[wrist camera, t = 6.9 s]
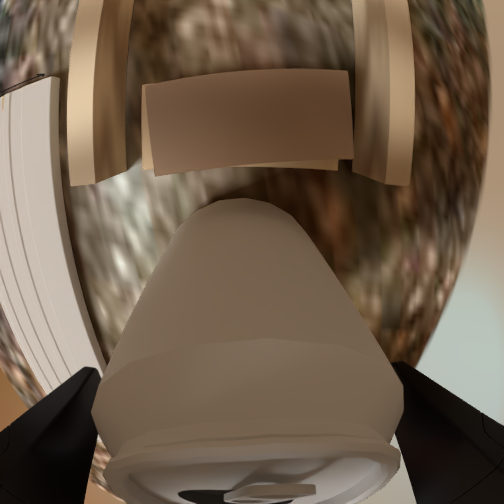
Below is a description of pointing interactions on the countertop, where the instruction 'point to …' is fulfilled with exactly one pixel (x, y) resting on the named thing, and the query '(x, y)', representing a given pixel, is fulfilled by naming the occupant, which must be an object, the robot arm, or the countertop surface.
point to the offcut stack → (248, 121)
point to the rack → (366, 91)
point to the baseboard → (40, 241)
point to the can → (247, 374)
